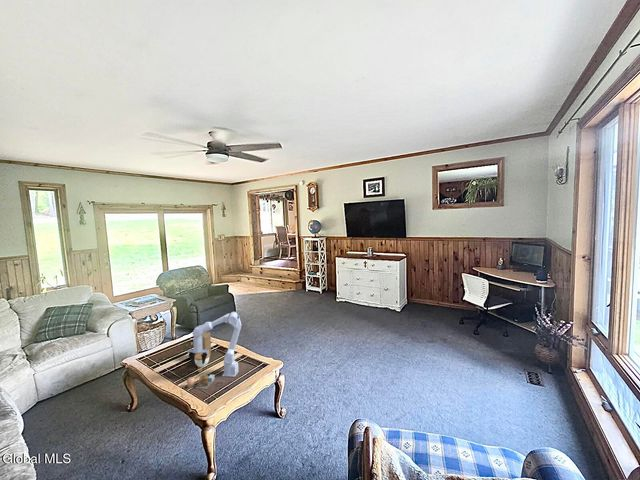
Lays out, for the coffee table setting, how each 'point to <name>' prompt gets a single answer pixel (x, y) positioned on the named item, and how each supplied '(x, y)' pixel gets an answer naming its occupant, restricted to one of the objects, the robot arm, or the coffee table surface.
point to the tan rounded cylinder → (190, 382)
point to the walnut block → (203, 381)
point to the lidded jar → (199, 360)
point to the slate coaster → (203, 387)
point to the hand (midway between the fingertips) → (198, 363)
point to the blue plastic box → (211, 378)
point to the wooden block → (206, 342)
